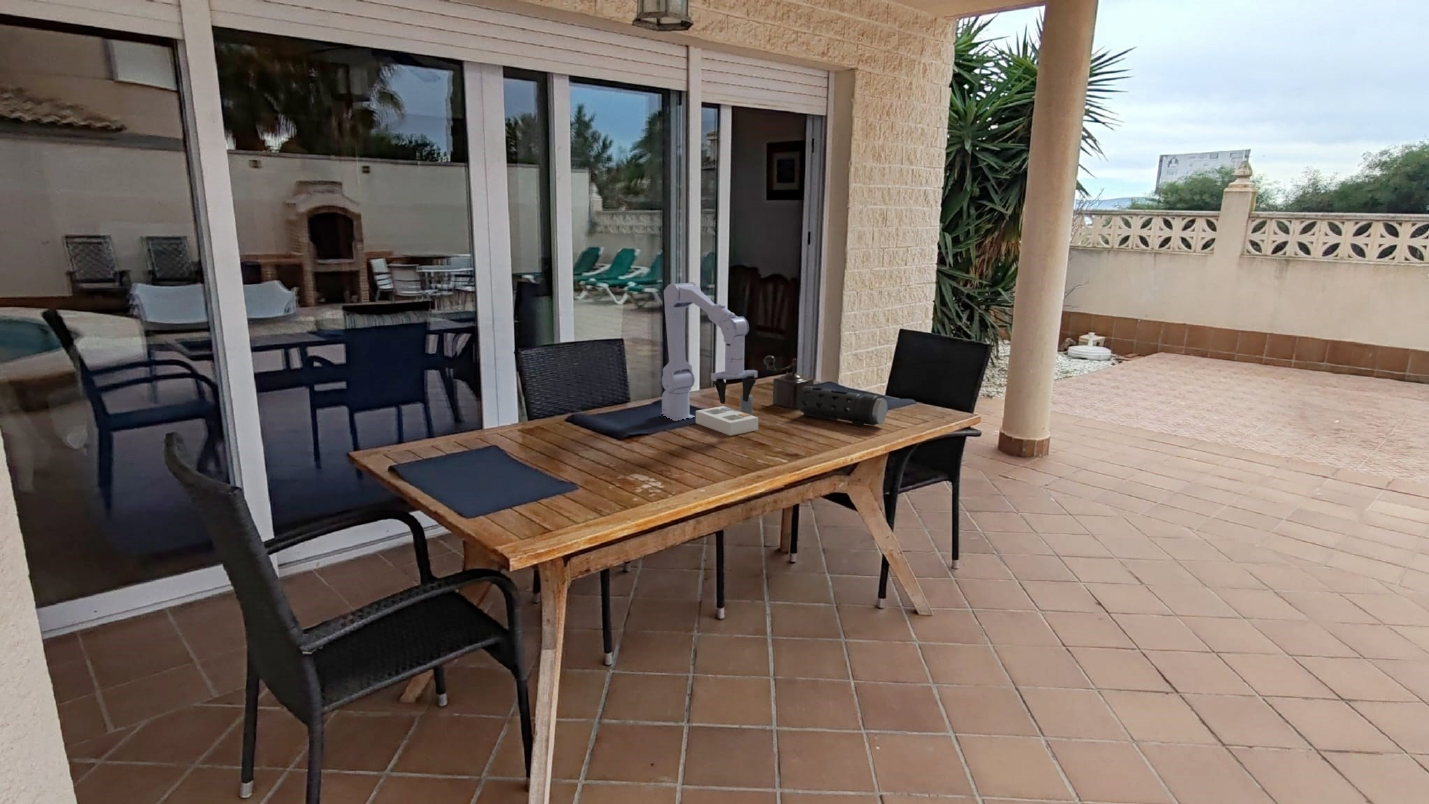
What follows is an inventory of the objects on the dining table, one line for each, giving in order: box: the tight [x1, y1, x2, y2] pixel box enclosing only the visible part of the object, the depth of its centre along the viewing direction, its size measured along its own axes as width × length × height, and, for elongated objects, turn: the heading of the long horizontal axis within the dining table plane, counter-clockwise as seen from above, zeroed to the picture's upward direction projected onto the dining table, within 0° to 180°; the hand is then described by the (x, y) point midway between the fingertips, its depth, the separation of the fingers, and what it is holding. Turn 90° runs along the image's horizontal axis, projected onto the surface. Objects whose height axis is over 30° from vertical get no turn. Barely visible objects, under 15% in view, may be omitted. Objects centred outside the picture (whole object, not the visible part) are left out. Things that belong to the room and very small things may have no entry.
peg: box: [739, 393, 754, 416], centre depth 249 cm, size 4×4×8 cm
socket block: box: [695, 405, 759, 436], centre depth 241 cm, size 18×11×4 cm, turn 37°
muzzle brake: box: [797, 386, 888, 426], centre depth 247 cm, size 10×28×10 cm, turn 54°
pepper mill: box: [763, 355, 815, 410], centre depth 266 cm, size 16×11×18 cm
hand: (734, 402), depth 231 cm, fingers open, 7 cm apart
